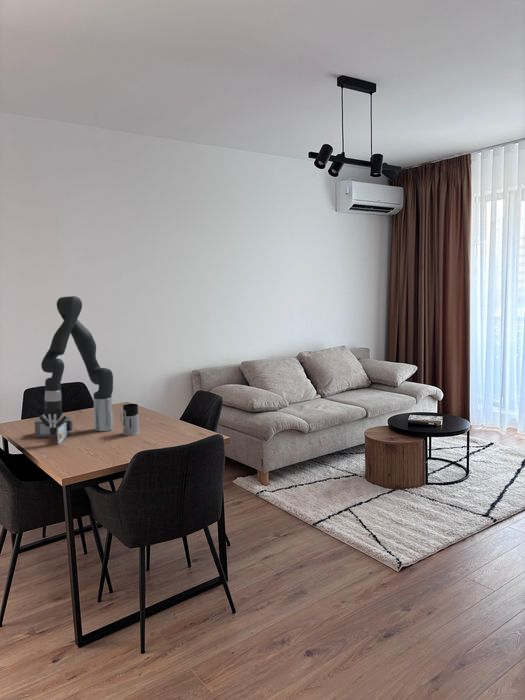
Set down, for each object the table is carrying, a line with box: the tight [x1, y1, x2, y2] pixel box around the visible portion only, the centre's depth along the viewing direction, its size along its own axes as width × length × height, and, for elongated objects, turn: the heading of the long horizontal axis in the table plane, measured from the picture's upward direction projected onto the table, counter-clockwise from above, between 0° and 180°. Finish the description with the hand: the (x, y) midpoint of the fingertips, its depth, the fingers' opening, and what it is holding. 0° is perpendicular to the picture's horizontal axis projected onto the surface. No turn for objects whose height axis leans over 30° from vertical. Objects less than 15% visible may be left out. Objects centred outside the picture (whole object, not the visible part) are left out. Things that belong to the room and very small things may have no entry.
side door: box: [56, 422, 68, 445], centre depth 271 cm, size 16×2×7 cm, turn 7°
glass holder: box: [119, 403, 140, 437], centre depth 281 cm, size 9×14×15 cm, turn 164°
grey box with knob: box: [34, 416, 74, 438], centre depth 283 cm, size 17×10×9 cm, turn 96°
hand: (53, 434), depth 265 cm, fingers closed
